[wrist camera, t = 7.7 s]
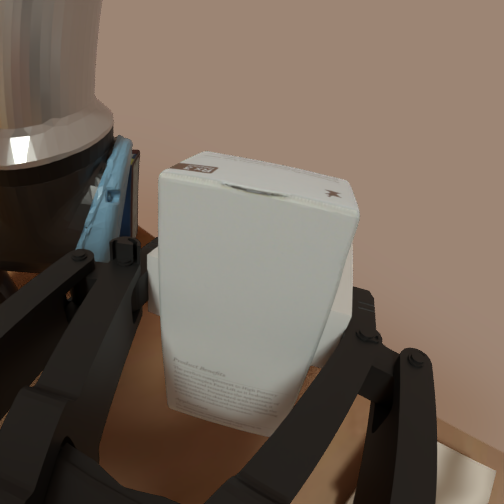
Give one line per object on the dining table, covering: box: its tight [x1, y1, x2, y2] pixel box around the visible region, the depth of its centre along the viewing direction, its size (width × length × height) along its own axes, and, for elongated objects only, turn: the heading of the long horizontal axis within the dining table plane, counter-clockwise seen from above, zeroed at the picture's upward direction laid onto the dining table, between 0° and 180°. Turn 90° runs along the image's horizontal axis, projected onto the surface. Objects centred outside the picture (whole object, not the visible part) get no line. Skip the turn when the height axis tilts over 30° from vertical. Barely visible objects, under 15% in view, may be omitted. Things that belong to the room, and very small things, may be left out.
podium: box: [345, 442, 496, 504], centre depth 18 cm, size 13×11×4 cm
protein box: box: [119, 150, 140, 238], centre depth 48 cm, size 10×15×16 cm
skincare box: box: [158, 151, 360, 437], centre depth 13 cm, size 6×4×12 cm
